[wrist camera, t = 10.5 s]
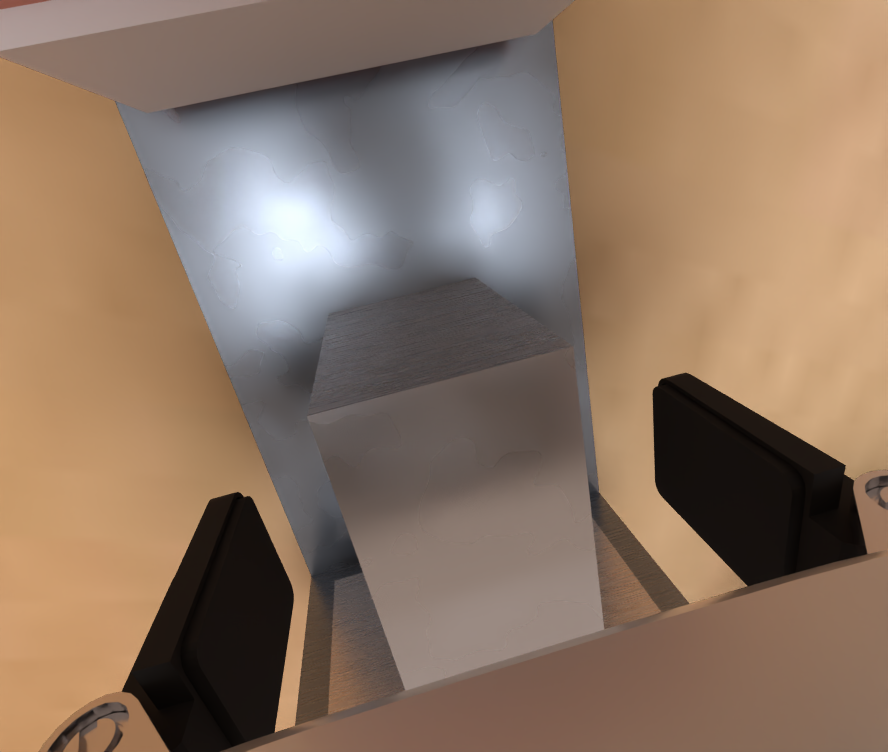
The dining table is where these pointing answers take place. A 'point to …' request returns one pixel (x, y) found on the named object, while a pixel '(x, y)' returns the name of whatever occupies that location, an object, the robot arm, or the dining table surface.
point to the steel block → (459, 476)
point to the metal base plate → (374, 278)
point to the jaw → (243, 41)
